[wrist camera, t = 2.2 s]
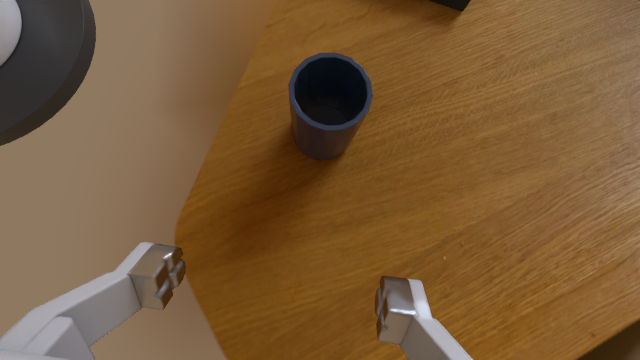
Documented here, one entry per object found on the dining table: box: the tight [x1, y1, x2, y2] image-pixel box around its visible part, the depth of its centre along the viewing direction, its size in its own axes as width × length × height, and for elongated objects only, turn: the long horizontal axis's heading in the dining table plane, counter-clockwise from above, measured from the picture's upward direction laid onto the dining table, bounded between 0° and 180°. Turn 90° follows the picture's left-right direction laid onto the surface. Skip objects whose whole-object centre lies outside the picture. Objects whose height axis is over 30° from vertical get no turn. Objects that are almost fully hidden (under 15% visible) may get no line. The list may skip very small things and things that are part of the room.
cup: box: [289, 53, 373, 161], centre depth 25 cm, size 6×6×9 cm
